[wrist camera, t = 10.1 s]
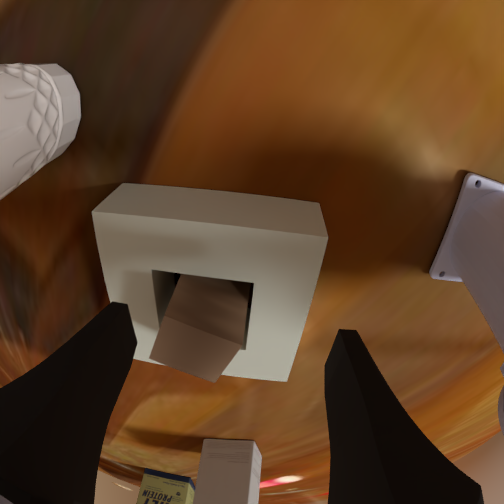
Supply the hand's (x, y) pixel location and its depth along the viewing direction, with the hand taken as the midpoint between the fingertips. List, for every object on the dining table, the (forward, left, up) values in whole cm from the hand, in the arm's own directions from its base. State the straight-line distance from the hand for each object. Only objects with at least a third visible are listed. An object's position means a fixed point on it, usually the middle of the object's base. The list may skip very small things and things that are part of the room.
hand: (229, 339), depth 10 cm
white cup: (+14, -6, -10) cm, 19 cm away
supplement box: (-1, +37, -10) cm, 38 cm away
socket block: (+2, +5, -10) cm, 11 cm away
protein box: (+12, +69, -10) cm, 71 cm away
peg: (+2, +5, -10) cm, 11 cm away
